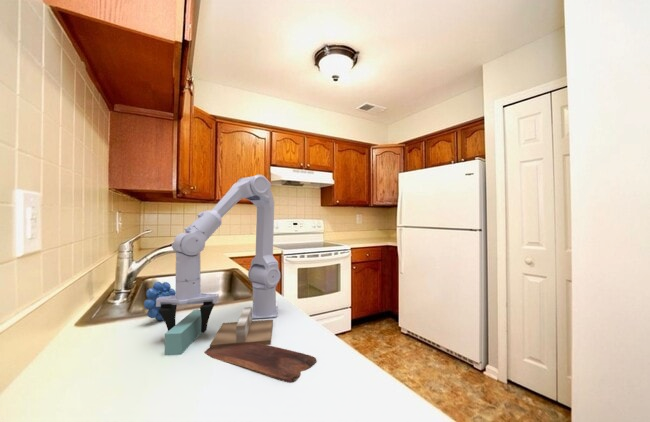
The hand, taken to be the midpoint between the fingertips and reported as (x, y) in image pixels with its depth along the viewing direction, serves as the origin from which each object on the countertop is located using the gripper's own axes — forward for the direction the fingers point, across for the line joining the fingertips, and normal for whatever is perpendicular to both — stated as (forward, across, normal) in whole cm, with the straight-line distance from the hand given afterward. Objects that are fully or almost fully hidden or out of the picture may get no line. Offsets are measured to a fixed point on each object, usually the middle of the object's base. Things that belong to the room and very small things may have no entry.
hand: (188, 332), depth 69 cm
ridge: (+2, +14, 0) cm, 14 cm away
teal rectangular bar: (+2, 0, 0) cm, 2 cm away
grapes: (+2, -12, +15) cm, 19 cm away
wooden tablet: (+2, +18, -12) cm, 22 cm away
